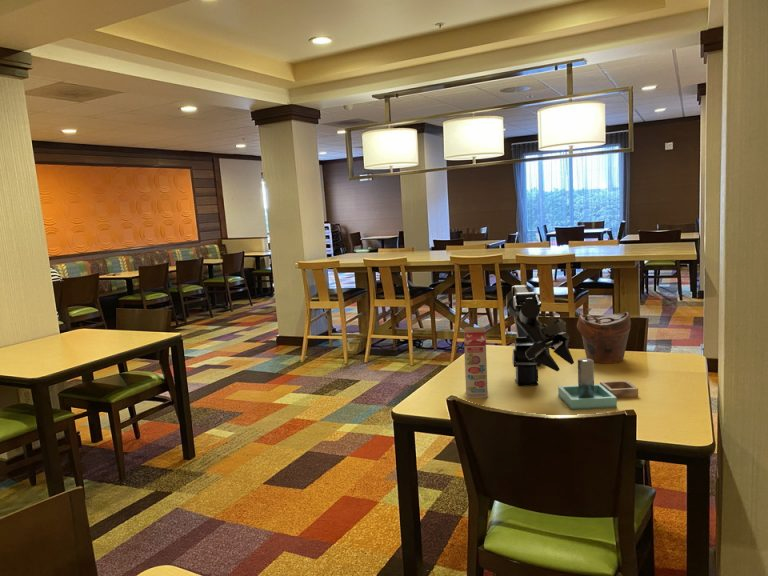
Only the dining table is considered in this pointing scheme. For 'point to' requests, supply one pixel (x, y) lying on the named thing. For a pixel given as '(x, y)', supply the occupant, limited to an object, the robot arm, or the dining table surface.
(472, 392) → the juice carton
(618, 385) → the collar
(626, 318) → the broken terracotta flower pot
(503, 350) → the dining table surface
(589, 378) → the strut
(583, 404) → the bin
